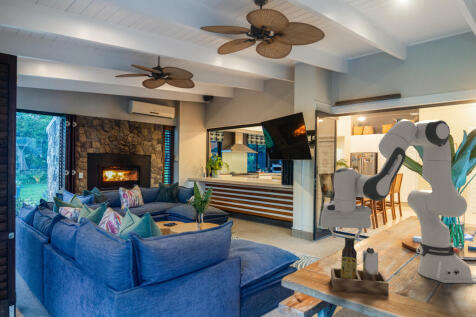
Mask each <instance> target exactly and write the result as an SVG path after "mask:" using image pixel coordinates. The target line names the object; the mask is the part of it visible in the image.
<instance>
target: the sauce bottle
mask: <svg viewBox="0 0 476 317" xmlns="http://www.w3.org/2000/svg"><path fill="white" fill-rule="evenodd" d="M355 241H356V238H355V236H353V235H352V236H351V235H345V236H344V247H343V249H342V251H341V258H340V259H341V260H340V262H341V264H340V269H341V278H344V279H356V270H358V268H357V266H358V263H357V262H358V260H357V257H358V256H357V255H358V253H357V250H356V248H355Z"/></svg>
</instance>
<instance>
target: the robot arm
mask: <svg viewBox="0 0 476 317" xmlns="http://www.w3.org/2000/svg"><path fill="white" fill-rule="evenodd" d="M450 132H451V130H450V126H449V125H448V123H447V122H446V121H445V120H441V119H431V120H422V121H418V122H413V121H412V120H409V119H401V120H399V121H397V122H395V123H394V124H393V126H391V127H390V128H389V130H388V131H386V133H385V135H383V137H382V138H381V140H380V141H379V143H378V151H379V153H380V154H381V155H382V156H383V157H384V158H385V159H386V160H385V162H384V163H383V165H382V167H381V168H380V170H379V171H378V173H375V174H374V175H369V174H364V173H360V172H358V171H356V170H355V168H353V167H340V168H338V169H336V170H335V171H334V175H333V189H334V190H333V191H334V196H333V200H331V201H328V202H325V203H323V210H322V211H321V215H320V225H321V227H323V228H328V229H329V231H330V233H331V236H332V237H331V238H333V239H334V238H337V233H336V232H334V231H333V230H334V228H340V229H341V228H342V229H344V228H346V229H347V228H348V229H357V230H358V231H357V232H356V233H354V235H355V236H354V237H355V239H360V235H361V233H362V232H363V229H371V227H372V220H371V215H372V209H371V207H369V206H367V205H357V202H356V201H357V198H356V197H361V198H364V199H369V200H372V201H375V202H381V201H383V200H385V199H386V198H387V197H388V195H389V193H390V191H391V188H392V185H393V182H394V181H395V178H396V177H397V175H398V173H399V171H400V169H401V168H402V167H403V164H404V162H405V160H406V156H407V154H406V152H407V150H408V149H409V148H410V147H412V146H417V147H418V146H422V149H423V154H422V167H421V169H422V170H421V173H422V174H421V177H422V178H423V180H425V181H426V182H428V184H429V185H430V187H431V189H416V190H414V189H413V190H411V191H410V192H409V193H408V195H407V199H406V202H407V205H408V206H409V208H411V210H412V211H413V212H414V213H415V215H416V217H417V219H418V222H419V226H420V234H421V235H420V236H421V238H420V240H421V242H420V243H419V244H420V245H419V253H420V260H419V265H418V269H417V273H418V274H419V275H421V276H423V277H425V278H428V279H431V280H435V281H438V282H440V283H444V284H476V276H475V274H473V273H472V271H471V267H470V265H469V263H467V262H466V261H464V260H462V258H460V257H459V256H458V255H456V254H459V253H460V249H458V248H457V247H454V246H452V245H451V237H450V236H451V234H450V233H451V230H450V228H449V226H448V225H447V224H445V222H443V220H441V217H447V218H459V217H463V216H464V215H465V213H466V211H467V209H468V203H467V200H466V199H465V197H464V196H463V195H461V194H460V193H459V192H458V190H457V189H456V187H455V185H454V182H453V180H452V152H451V151H452V149H451V144H450V141H449V138H450ZM440 216H441V217H440Z"/></svg>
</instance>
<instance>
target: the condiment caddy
mask: <svg viewBox="0 0 476 317" xmlns="http://www.w3.org/2000/svg"><path fill="white" fill-rule="evenodd" d="M330 280H331V285H332V291H334V292H345V293H357V294H367V295H379V296H390V295H389V282H388V280H387V279H386V277H385V275H384V273H383V272H382V271H379V270H378V281H369V280H363V269H357V270H356V279H344V278H341V267H340V268H337V267H336V268H335V267H330Z"/></svg>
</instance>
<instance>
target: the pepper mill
mask: <svg viewBox="0 0 476 317" xmlns="http://www.w3.org/2000/svg"><path fill="white" fill-rule="evenodd" d="M362 270H363V280H369V281H378V271H379V252H378V251H376V250H375V249H374V248H373V247H370V246H369V247H367V248H366V249H364V250H362Z"/></svg>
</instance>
